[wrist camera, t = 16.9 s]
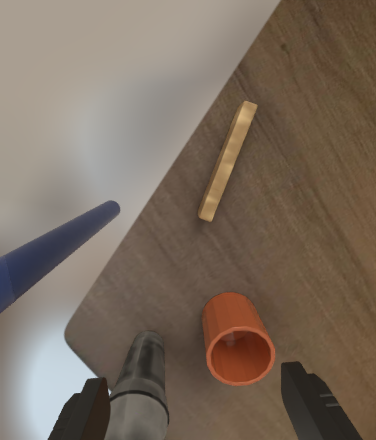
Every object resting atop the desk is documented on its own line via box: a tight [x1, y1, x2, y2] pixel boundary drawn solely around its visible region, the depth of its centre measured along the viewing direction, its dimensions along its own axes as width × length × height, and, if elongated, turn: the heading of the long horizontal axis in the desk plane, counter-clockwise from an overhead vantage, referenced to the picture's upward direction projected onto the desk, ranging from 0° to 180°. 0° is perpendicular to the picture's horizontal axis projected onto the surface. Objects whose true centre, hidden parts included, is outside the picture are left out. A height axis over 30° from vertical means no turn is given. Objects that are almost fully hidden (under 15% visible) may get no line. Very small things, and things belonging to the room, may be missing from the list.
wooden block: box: [198, 101, 257, 222], centre depth 31 cm, size 2×4×14 cm
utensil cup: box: [202, 292, 275, 386], centre depth 34 cm, size 8×8×8 cm
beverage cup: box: [104, 331, 169, 440], centre depth 29 cm, size 7×7×20 cm
